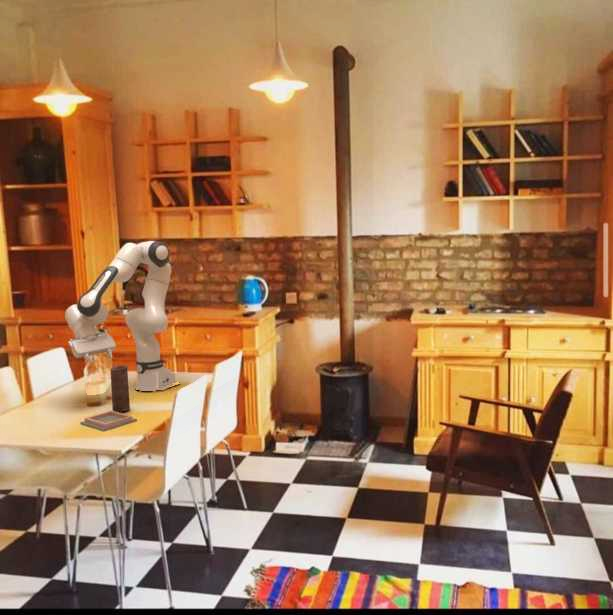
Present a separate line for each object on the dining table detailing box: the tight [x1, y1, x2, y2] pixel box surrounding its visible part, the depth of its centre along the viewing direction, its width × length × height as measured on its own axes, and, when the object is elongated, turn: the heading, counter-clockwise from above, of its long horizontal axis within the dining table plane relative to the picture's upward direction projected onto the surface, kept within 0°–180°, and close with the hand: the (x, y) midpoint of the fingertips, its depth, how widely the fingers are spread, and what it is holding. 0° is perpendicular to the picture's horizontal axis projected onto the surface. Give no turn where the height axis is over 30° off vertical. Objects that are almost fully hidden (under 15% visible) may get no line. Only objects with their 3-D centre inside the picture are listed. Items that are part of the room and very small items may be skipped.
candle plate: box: [80, 410, 138, 432], centre depth 283 cm, size 16×16×2 cm
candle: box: [109, 364, 131, 413], centre depth 297 cm, size 8×7×20 cm
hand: (101, 360), depth 303 cm, fingers open, 8 cm apart
